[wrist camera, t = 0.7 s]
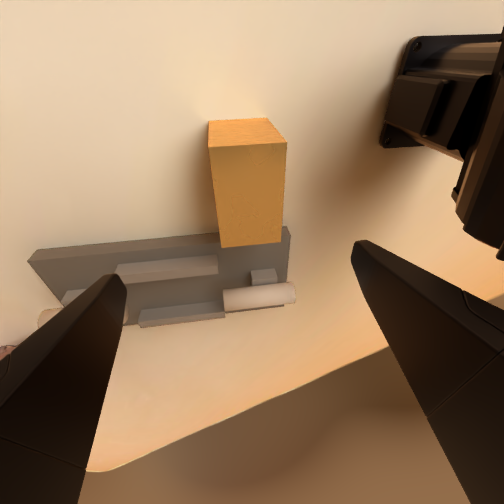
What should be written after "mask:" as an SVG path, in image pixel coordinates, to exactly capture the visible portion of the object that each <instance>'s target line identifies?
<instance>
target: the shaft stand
mask: <svg viewBox="0 0 504 504" xmlns="http://www.w3.org/2000/svg"><path fill="white" fill-rule="evenodd" d="M290 236H291V235H290V233H289V231H288V228H287V226H284V227H282V231H281V242H277V243H267V244H257V245H246V246H236V247H226V248H221V240H220V233H210V234H199V235H189V236H178V237H167V238H157V239H146V240H136V241H125V242H115V243H104V244H93V245H83V246H72V247H62V248H51V249H40V250H37V251H36V252H35V253H34V254H33V255H32V256H31V257H30V259H29V260H28V261H27V262H28V263H29V264H30V265H31V267H32V268H33V269H34V270H35V272H36V273H37V274H38V275H39V276H40V278H41V279H42V280H43V281H44V283H45V284H46V285H47V286H48V288H49V289H50V290H51V291H52V292H53V294H54V295H55V296H56V297H57V299H58V300H59V301H60V302H61V304H62V305H63V306H64V307H65V306H67V305H68V304H69V303H70V302H72V301H73V300H74V299H75V298H76V297H78V296H79V295H80V294H81V293H82V292H84V291H85V290H86V289H87V288H88V287H90V286H91V285H92V284H93V283H95V282H96V281H97V280H98V279H99V278H101V277H102V276H103V275H105V274H110V273H117V274H118V275H119V277H120V278H121V280H122V281H123V283H124V285H125V286H126V288H127V298H126V306H125V313H124V320H123V326H127V325H135V324H139V326H140V327H141V328H145V327H153V326H161V325H169V324H177V323H185V322H193V321H201V320H209V319H217V318H225V313H233V312H241V311H249V310H258V309H266V308H274V307H282V306H284V304H290V303H295V300H296V295H295V288H294V285H293V283H292V282H286V280H287V269H288V258H289V247H290ZM62 309H63V308H57V309H48V310H44V311H43V312H42V313H41V314H40V315H39V318H38V328H40V327H41V326H42V325H44V324H45V323H46V322H47V321H49V320H50V319H51V318H52V317H53V316H55V315H56V314H57V313H58V312H59V311H61V310H62Z"/></svg>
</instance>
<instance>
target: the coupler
mask: <svg viewBox="0 0 504 504" xmlns="http://www.w3.org/2000/svg"><path fill="white" fill-rule="evenodd" d="M208 150H209V157H210V165H211V172H212V180H213V188H214V195H215V203H216V210H217V218H218V225H219V233H220V240H221V248H226V247H236V246H246V245H257V244H267V243H277V242H281V231H282V215H283V199H284V183H285V167H286V151H287V141H286V140H285V139H284V138H283V137H282V135H281V134H280V133H279V132H278V131H277V129H276V128H275V127H274V126H273V125H272V123H271V122H270V121H269V120H268V119H267V118H252V119H234V120H216V121H209V135H208Z"/></svg>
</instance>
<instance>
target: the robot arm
mask: <svg viewBox="0 0 504 504" xmlns="http://www.w3.org/2000/svg"><path fill="white" fill-rule="evenodd" d="M416 43H417V44H418V46H417V49H416V50H415V51H414V50H413V48H414V45H415V44H416ZM384 120H385V122H384V126H383V129H382V133H381V136H380V140H379V144H380V146H381V147H383V148H399V147H413V146H428V147H430V148H432V149H435V150H437V151H439V152H441V153H444V154H446V155H448V156H450V157H453V158H455V159H457V160H460V161H462V162H464V163H463V166H462V169H461V172H460V175H459V179H458V182H457V185H456V187H454V188H453V191H452V194H451V197H452V198H453V200H454V201H455V203H456V213H457V215H458V217H459V218H460V220H461V221H462V223H463V224H464V226H463V230H464V231H465V232H466V233H468V234H469V235H471V236H472V237H474V238H475V239H477V240H478V241H480V242H482V243H484V244H486V245H489V246H491V247H493V248H496V249H499V251H498V253H497V254H496V258H497V259H499V260H502V261H504V27H503V30H502V33H501V34H478V35H444V36H417V37H413V38H412V39H411V40H410V41H409V42H408V44H407V46H406V49H405V53H404V56H403V60H402V63H401V67H400V70H399V73H398V77H397V79H396V80H395V83H394V87H393V90H392V94H391V98H390V101H389V105H388V108H387V112H386V115H385V119H384ZM388 138H389V140H388V142H387V143H385V141H386V139H388ZM351 263H352V266H353V269H354V271H355V274H356V277H357V279H358V282H359V285H360V287H361V290H362V293H363V295H364V297H365V299H366V301H367V303H368V305H369V307H370V309H371V311H372V313H373V315H374V317H375V319H376V321H377V323H378V325H379V327H380V329H381V330H382V332H383V334H384V336H385V338H386V340H387V342H388V344H389V346H390V348H391V350H392V351H393V354H394V355H395V358H396V359H397V361H398V363H399V365H400V367H401V369H402V371H403V373H404V375H405V377H406V379H407V381H408V383H409V385H410V387H411V389H412V390H413V392H414V394H415V396H416V398H417V400H418V402H419V404H420V406H421V408H422V410H423V412H424V414H425V416H427V420H428V422H429V424H430V426H431V428H432V430H433V431H434V433H435V435H436V437H437V439H438V441H439V443H440V445H441V447H442V449H443V451H444V453H445V455H446V456H447V459H448V460H449V462H450V464H451V466H452V468H453V470H454V472H455V474H456V476H457V478H458V480H459V482H460V483H461V486H462V488H463V489H464V491H465V493H466V495H467V497H468V499H469V501H470V503H471V504H504V310H502V309H500V308H498V307H496V306H494V305H492V304H490V303H488V302H486V301H484V300H482V299H480V298H478V297H476V296H474V295H472V294H470V293H468V292H466V291H464V290H463V291H462V289H461V288H459V287H457V286H455V285H453V284H451V283H449V282H447V281H445V280H443V279H441V278H439V277H437V276H435V275H434V274H432V273H430V272H428V271H426V270H424V269H422V268H420V267H418V266H416V265H414V264H412V263H410V262H408V261H407V260H405V259H403V258H401V257H399V256H397V255H395V254H393V253H391V252H389V251H387V250H385V249H383V248H382V247H380V246H378V245H376V244H374V243H372V242H370V241H368V240H360V241H356V242H355V243H354V246H353V250H352V254H351ZM126 298H127V288H126V286H125V285H124V283H123V281H122V280H121V278H120V277H119V275H118V274H117V273H110V274H105V275H103V276H102V277H101V278H99V279H98V280H97V281H96V282H95V283H93V284H92V285H91V286H90V287H88V288H87V289H86V290H85V291H84V292H82V293H81V294H80V295H79V296H78V297H76V298H75V299H74V300H73V301H72V302H70V303H69V304H68V305H67V306H65V307H64V308H63V309H62V310H61V311H59V312H58V313H57V314H56V315H55V316H53V317H52V318H51V319H50V320H49V321H47V322H46V323H45V324H44V325H42V326H41V327H40V328H39V329H38V330H36V331H35V332H34V333H33V334H32V335H30V336H29V337H28V338H27V339H26V340H24V341H23V342H22V343H21V344H20V345H18V346H17V347H16V348H15V349H13V350H12V351H11V353H10V354H7V355H6V356H5V357H4V358H3V359H1V360H0V504H77V503H78V499H79V496H80V491H81V488H82V484H83V480H84V476H85V472H86V468H87V464H88V460H89V456H90V452H91V448H92V445H93V441H94V437H95V433H96V429H97V425H98V421H99V418H100V414H101V410H102V406H103V402H104V398H105V394H106V390H107V387H108V383H109V379H110V375H111V371H112V367H113V363H114V360H115V356H116V352H117V348H118V344H119V340H120V336H121V332H122V327H123V320H124V313H125V306H126Z"/></svg>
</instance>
